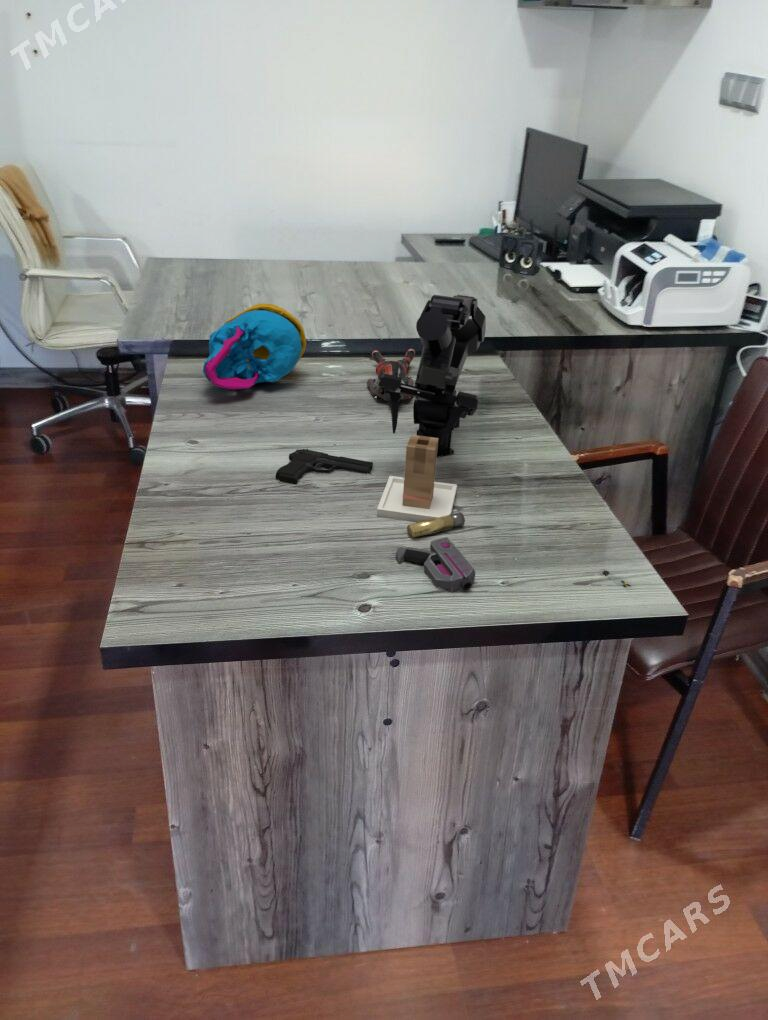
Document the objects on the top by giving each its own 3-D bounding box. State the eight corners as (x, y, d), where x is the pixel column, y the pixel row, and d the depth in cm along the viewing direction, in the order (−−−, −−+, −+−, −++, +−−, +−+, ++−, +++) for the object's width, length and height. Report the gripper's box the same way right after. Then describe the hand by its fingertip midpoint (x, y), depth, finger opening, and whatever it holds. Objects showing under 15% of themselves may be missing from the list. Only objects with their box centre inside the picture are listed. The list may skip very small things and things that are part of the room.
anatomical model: (217, 416, 187) (213, 385, 209) (323, 382, 189) (308, 355, 211) (190, 342, 179) (189, 318, 201) (300, 308, 181) (287, 288, 204)
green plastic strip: (635, 584, 135) (628, 588, 134) (634, 588, 135) (627, 592, 134) (603, 566, 139) (596, 570, 138) (602, 570, 139) (595, 573, 138)
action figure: (420, 353, 213) (433, 393, 186) (394, 387, 216) (402, 431, 190) (388, 329, 209) (396, 367, 183) (361, 364, 213) (365, 406, 187)
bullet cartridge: (456, 521, 149) (458, 509, 148) (464, 527, 148) (465, 516, 146) (406, 533, 145) (407, 522, 144) (413, 540, 143) (414, 528, 142)
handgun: (359, 489, 155) (374, 457, 165) (273, 472, 158) (293, 442, 167) (358, 501, 157) (373, 469, 167) (273, 484, 159) (292, 454, 169)
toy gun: (424, 607, 129) (482, 590, 132) (424, 590, 128) (482, 573, 130) (390, 559, 140) (444, 544, 143) (390, 542, 138) (444, 528, 141)
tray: (389, 482, 161) (389, 475, 160) (456, 491, 159) (457, 484, 158) (376, 516, 150) (377, 509, 149) (448, 526, 148) (449, 519, 147)
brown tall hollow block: (406, 492, 156) (410, 434, 150) (433, 496, 156) (438, 438, 150) (401, 505, 152) (406, 446, 146) (429, 509, 151) (435, 450, 145)
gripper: (390, 334, 150) (370, 417, 148) (491, 358, 150) (472, 441, 148) (387, 353, 161) (368, 430, 159) (481, 375, 161) (463, 452, 159)
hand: (417, 438), depth 156 cm, fingers open, 9 cm apart
